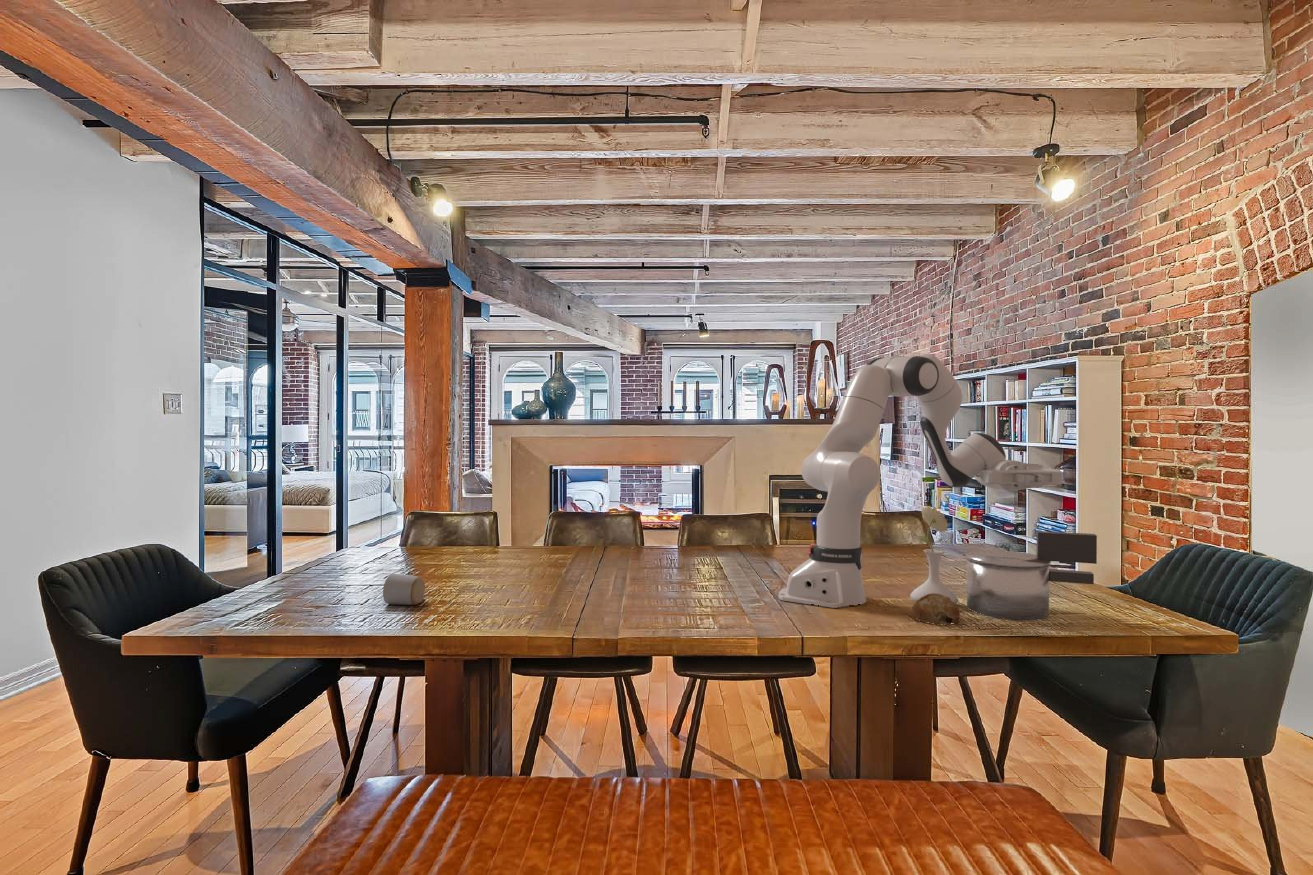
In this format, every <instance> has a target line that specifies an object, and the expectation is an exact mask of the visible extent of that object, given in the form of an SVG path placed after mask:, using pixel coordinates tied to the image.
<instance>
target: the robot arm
mask: <svg viewBox="0 0 1313 875" xmlns="http://www.w3.org/2000/svg"><path fill="white" fill-rule="evenodd" d="M913 396H914V397H916V398H917V399H918V401H919V403H920V407H921V418H920V422H919V423H920V428H921V431H922V434H923V436H924V438H925V441H926V444H927V446H928V448H929V451H930V453H931V456H932V458H933V460H934V463H935V467H936V470H937V471H936V472H937V474H938V476H939V478H940V479H941V480H942V481H943V482H944V483H945V484H946V485H947V486H949V487H950V488H965V487H966V486H968V484H969V483H970V482H971V481H972V480H973V479H974V478H975V480H976V481H977V482H978V483H979V484H981V485H983V486H985V487H987V488H990V489H996V490H1001V491H1008V492H1018V491H1024V490H1026V489H1036V488H1043V487H1044V486H1060V485H1062V484H1063V482H1064V474H1063V473H1064V472H1063V471H1061V470H1059V469H1056V468H1050V467H1045V466H1044V465H1042V464H1035V463H1026V462H1022V461H1018V460H1013V459H1006V458H1007V456H1006V452H1005V449H1004V447H1003V446H1002V444H1001V443H1000V442H999V441H998V440H997V439H996V438H995V437H994V436H992V435H990V434H987V433H982V432H973V433H972V434H970V435H969V436H968V437H966V438H965V440H963V441H962V442H961V443H960V444H959V445H957V447H956V448H954V449H953V450H952V451H951V450H950V448H949V446H948V442H947V441H946V440H947V439H946V434H947V429H948V428H949V425H950V423H951V422H952V420H953V419H954V417H955V415H957V413H958V412H959V410H960V407H961V405H962V402H963V401H962V400H963V392H962V389H961V387H960V385H959V383H958V382H957V380H956V379H955V376H954V375H953V374H952V373H951V371H950V369H948V368H947V366H946V365H945V364H944V363H943V362H942V361H941V359H939V358H938V357H937V356H936V355H935V354H931V353H923V354H920V355H913V356H909V355H907V356H905V355H893V356H887V357H878V358H874V359H871V360H870V361H869V362H867V363H866V364H865V365H863V366H861V367H859V368H858V369H857V371H856V372H855V373H854V375H853V377H852V378H851V379H850V382H849V384H848V386H847V387H846V390H845V393H844V395H843V397H842V400H841V403H840V406H839V408H838V410H837V412H836V416H835V418H834V420H833V422H832V424H831V427H830V428H829V430H828V431H827V434H825V436H824V438H823V439H822V441H821V442H820V443H819V445H818V446H817V447H816V448H815V450H814V451H812V453H809V455H807V456H806V457H805V458H804V460H803V461H802V464H801V469H800V470H801V471H800V472H801V477H802V479H803V481H804V482H805V484H807V485H808V486H810V487H812V489H813V488H814V489H816V490H818V491H819V492H820V491H822V492H827V497H826V501H825V504H824V506H823V507H822V510H820V511H819V512H818V514H817V516H816V543H811V544H810V545H809V547H808V557H809V558H808V559H807V560H805V561H804V562H802V563H801V564H800V565H798V566H797V567H795V568H794V569H793V570H791V572H790V574H789V576H788V578H787V583H786V587H783V588H782V589H780V590H779V591H778V597H777V598H778V599H779V600H781V601H786V602H792V603H799V604H806V605H811V604H814V605H813V606H818V605H819V606H818V607H826V608H831V609H832V608H833V609H835V608H836V609H837V608H838V607H839V608H842V606H843V607H850V606H849V605H854V606H859V605H858V604H860V605H863V604H865V603H867V598H866V594H865V589H864V585H863V577H862V568H863V547H862V546H861V523H862V522H861V521H862V515H863V511H864V510H863V509H864V508H865V507H864V506H865V504H866V501H867V499H868V497H869V495H870V494H871V493H872V491H874V489H875V488H876V487H877V485H878V484H879V481H880V475H881V472H880V468H879V465H878V463H877V462H876V460H874V459H873V458H872V457H870V456H868V455H865V454H863V453H861V451H862V450H863V448H865V447H866V446H867V445H868V444H870V443H871V442H872V441H873V440H874V438H875V437H876V434H877V431H878V428H879V427H880V423H881V421H882V418H883V416H884V412H885V409H886V406H887V404H888V403H887V402H888V399H889V397H899V398H901V397H902V398H903V397H913ZM839 608H838V609H839Z"/></svg>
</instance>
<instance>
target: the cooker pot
mask: <svg viewBox="0 0 1313 875" xmlns="http://www.w3.org/2000/svg"><path fill="white" fill-rule="evenodd" d="M1094 576H1095V574H1094V573H1093V572H1092V571H1084V570H1083V571H1082V570H1070V569H1069V570H1068V569H1058V568H1057V569H1055V568H1054V569H1052V568H1050V566H1048V567H1043V568H1009V567H998V566H991V565H985V564H979V563H975V562H972V561H969V560H967V559H966V608H967V607H968V608H969V609H971V610H973V611H975V612H977V613H976V614H978V613H981V614H984V615H983V616H985V615H986V616H985V617H989V616H990V617H991V618H995V619H1001V618H1004V619H1003V620H1009V619H1010V621H1029V622H1030V621H1041V620H1046V619H1048V618H1049V616H1050V582H1055V583H1056V582H1057V583H1068V584H1069V583H1070V584H1071V583H1072V584H1083V585H1085V584H1086V585H1095V584H1094V583H1095V582H1094V580H1095V577H1094ZM968 608H967V609H968ZM969 609H968V610H969ZM971 610H970V611H971ZM973 611H972V612H973ZM975 612H974V613H975ZM981 614H980V615H981Z"/></svg>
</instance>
